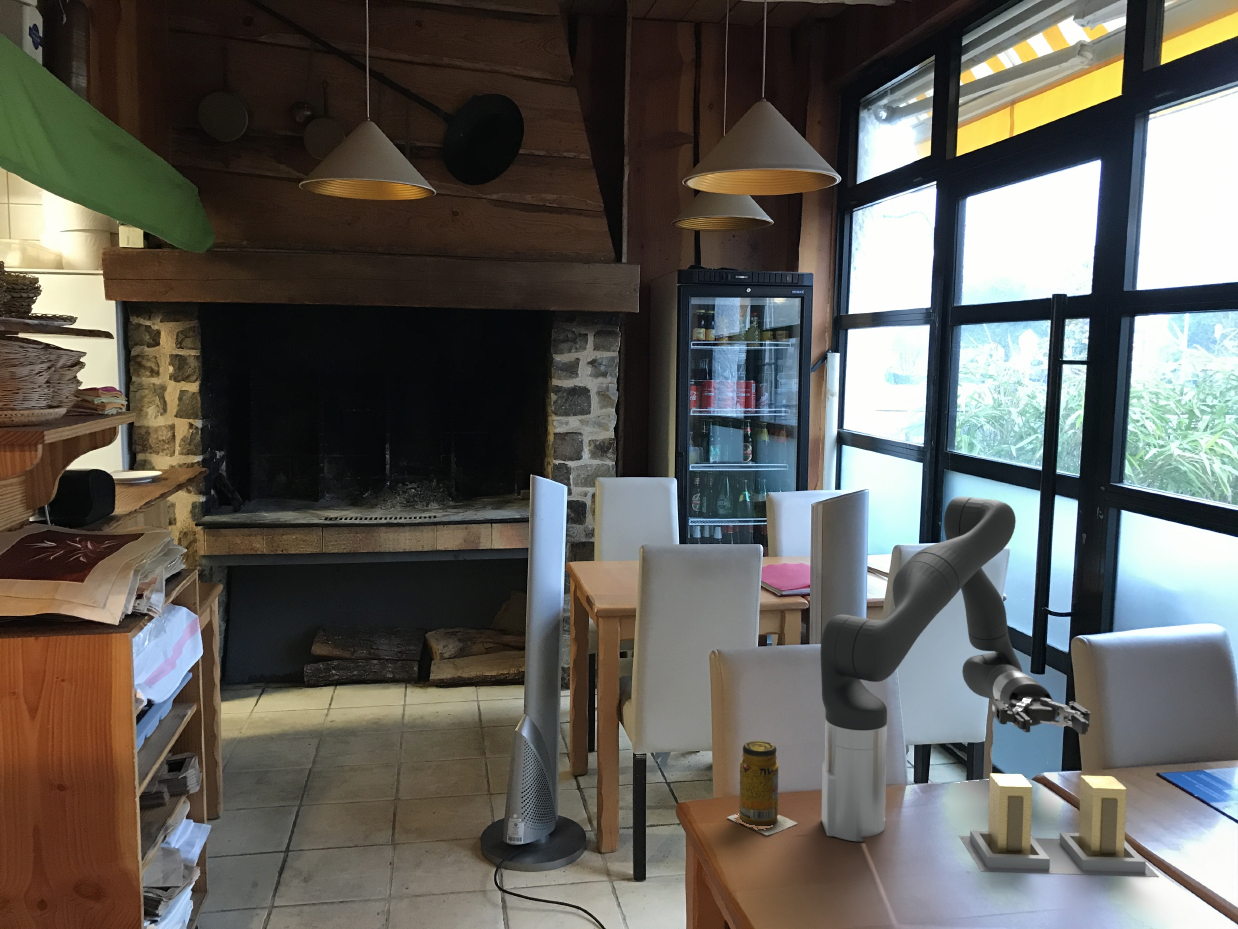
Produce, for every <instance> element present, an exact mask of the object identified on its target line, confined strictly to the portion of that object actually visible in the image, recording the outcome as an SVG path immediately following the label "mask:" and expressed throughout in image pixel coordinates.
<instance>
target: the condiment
mask: <svg viewBox="0 0 1238 929" xmlns="http://www.w3.org/2000/svg"><path fill="white" fill-rule="evenodd" d="M777 750H778V749H777V747H776V745H775V744H773V743H771V742H768V741H763V740H753V741H748V742H745V744H743V746H742V760H741V761H740V765H739V807H738V808H739V813H740V819H741V820H742V822H744V823H746V824H749V825H755V826H771V825H773V827H770V828H765V829H766V830H764V829H758V830H756V832H757V833H762V834H763V835H765V836H770V835H774V834H776V833H779V832H781V831H783V830H787V828H790V827H793V826H795V825H797V824H798V822H796V821H795V820H791V819H789V818H788V817H785V816H783V815H781V814H779V812H778V811H779V763H778V762H777V758H778V756H777ZM739 813H735V814H731V815H730V816H727V817H726V818H727V819H729V820H731V821H733V822H734V823H737V824H739V823H738V822H736V821H735V820H736V819H734V818H737V817H739V816H738V815H739ZM736 814H738V815H736ZM777 818H778V819H777ZM737 821H739V820H737ZM778 821H779V822H780V823H779V822H778ZM748 828H750V829H751V830H753V831H755V830H754V828H753V827H748Z"/></svg>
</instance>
